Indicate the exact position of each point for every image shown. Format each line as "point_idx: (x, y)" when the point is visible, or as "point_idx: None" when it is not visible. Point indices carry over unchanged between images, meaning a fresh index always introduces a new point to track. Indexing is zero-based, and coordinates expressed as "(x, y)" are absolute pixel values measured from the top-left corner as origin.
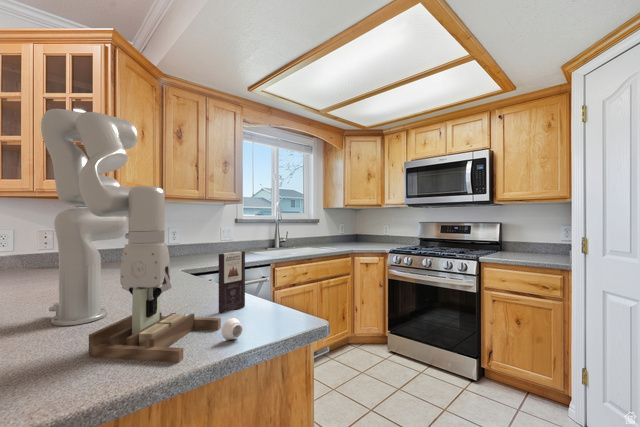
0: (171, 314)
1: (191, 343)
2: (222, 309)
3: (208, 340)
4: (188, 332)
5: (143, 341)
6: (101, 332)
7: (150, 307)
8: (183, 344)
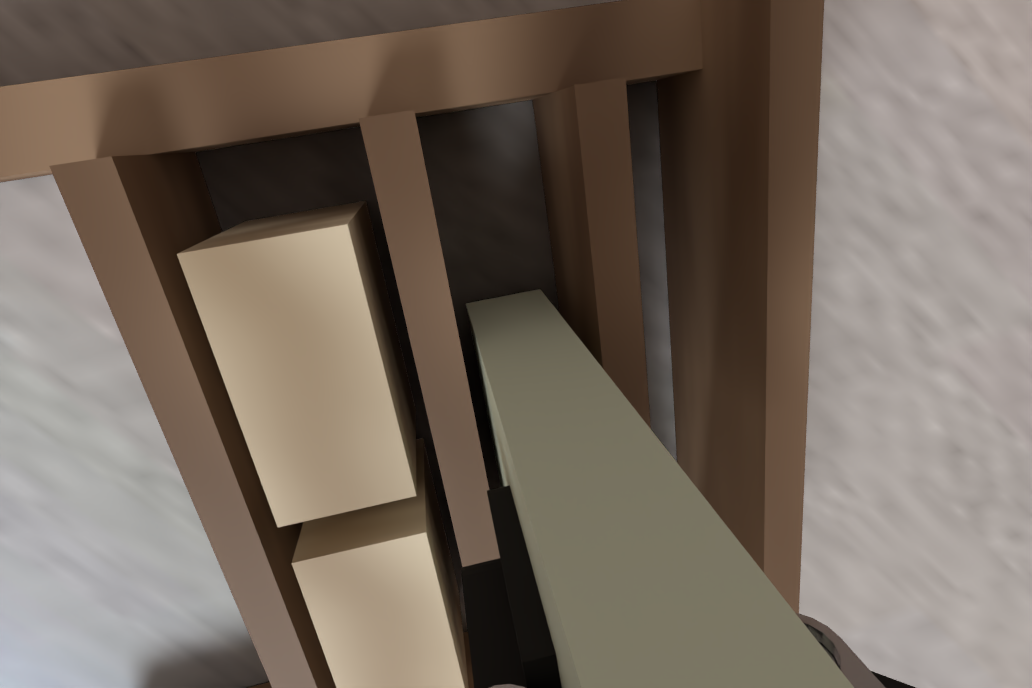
0: None
1: (115, 479)
2: None
3: (27, 563)
4: None
5: (308, 221)
6: (759, 91)
7: (505, 603)
8: (163, 445)
